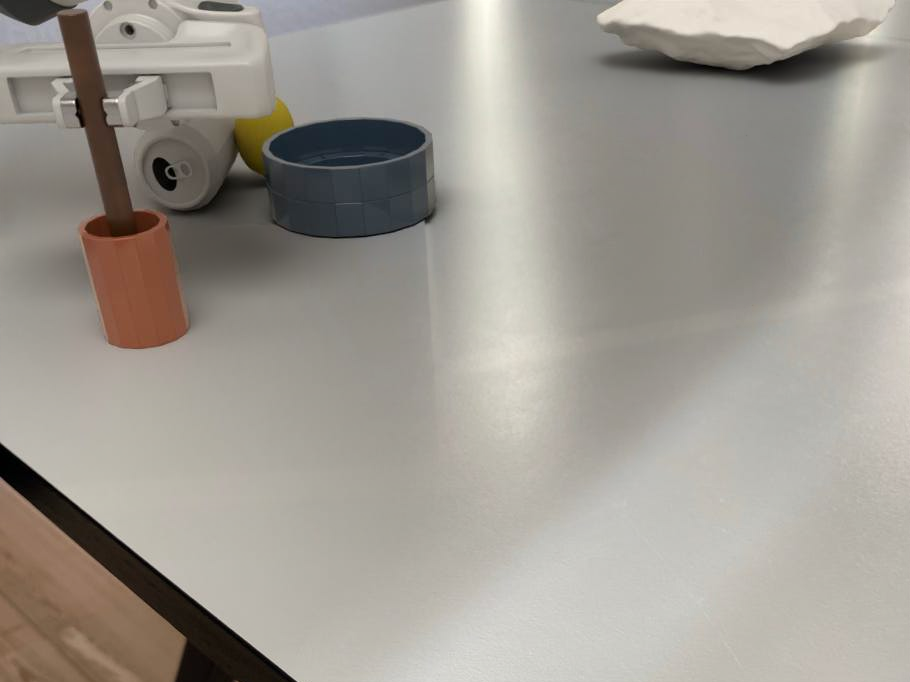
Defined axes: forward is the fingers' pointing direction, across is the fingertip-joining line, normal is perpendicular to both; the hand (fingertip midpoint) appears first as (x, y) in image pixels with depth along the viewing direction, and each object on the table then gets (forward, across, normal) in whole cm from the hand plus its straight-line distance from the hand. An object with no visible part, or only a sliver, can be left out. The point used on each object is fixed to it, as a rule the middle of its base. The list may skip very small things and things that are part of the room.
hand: (91, 114), depth 69 cm
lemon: (-34, +3, +15) cm, 38 cm away
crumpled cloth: (-73, +53, +15) cm, 91 cm away
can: (-37, -3, +11) cm, 39 cm away
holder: (-1, 0, +15) cm, 15 cm away
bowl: (-25, +12, +15) cm, 32 cm away
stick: (-1, 0, +14) cm, 15 cm away
